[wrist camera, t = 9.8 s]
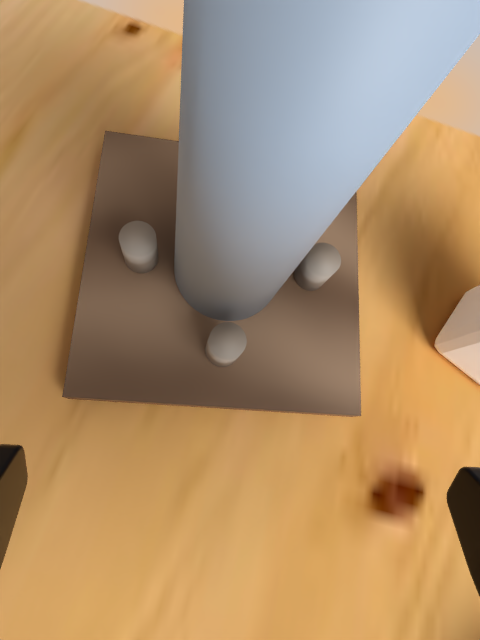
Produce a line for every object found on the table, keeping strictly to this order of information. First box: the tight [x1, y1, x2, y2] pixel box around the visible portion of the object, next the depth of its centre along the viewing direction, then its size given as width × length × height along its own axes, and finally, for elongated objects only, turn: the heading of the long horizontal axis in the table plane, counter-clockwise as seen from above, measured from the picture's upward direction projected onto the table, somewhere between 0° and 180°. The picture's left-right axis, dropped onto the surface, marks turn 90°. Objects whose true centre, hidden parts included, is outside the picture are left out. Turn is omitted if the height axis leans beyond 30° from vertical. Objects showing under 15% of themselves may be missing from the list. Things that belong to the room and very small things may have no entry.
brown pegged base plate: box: [62, 131, 361, 417], centre depth 18 cm, size 12×12×3 cm
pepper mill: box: [174, 0, 480, 321], centre depth 11 cm, size 5×5×16 cm
